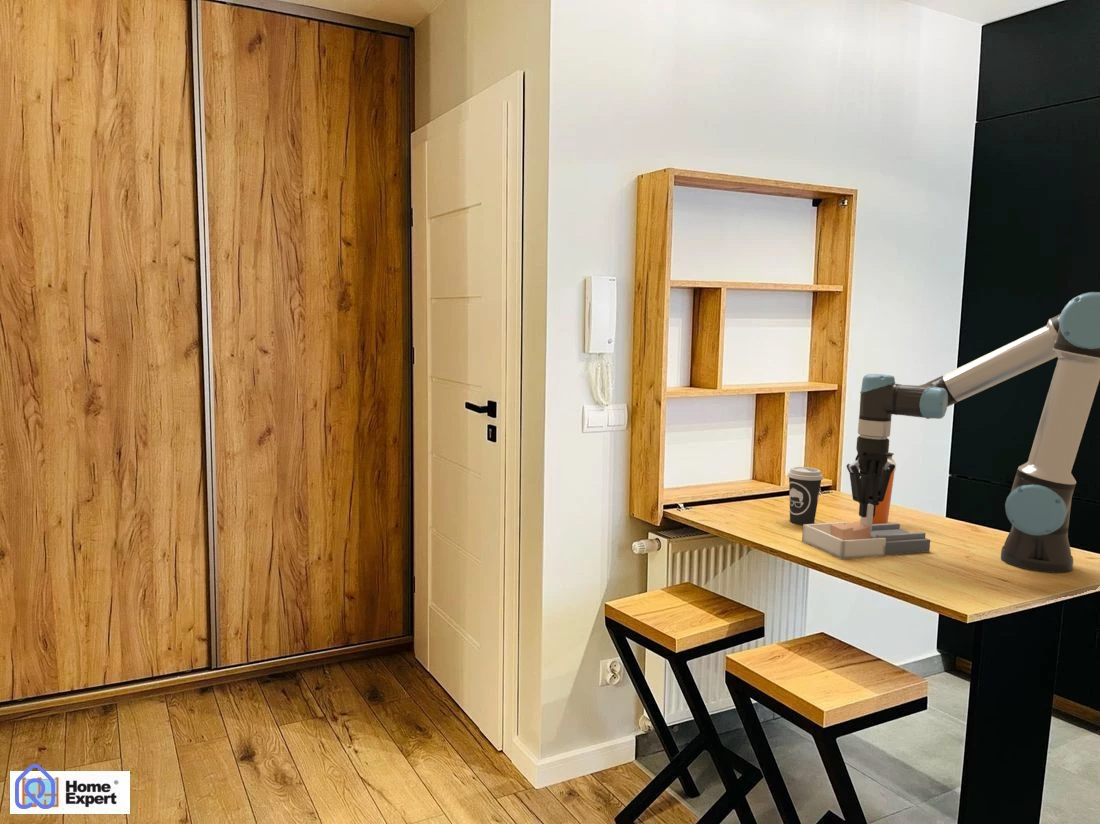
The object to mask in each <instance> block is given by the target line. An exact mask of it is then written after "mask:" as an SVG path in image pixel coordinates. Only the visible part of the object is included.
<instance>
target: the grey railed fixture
mask: <svg viewBox="0 0 1100 824" xmlns="http://www.w3.org/2000/svg"><path fill="white" fill-rule="evenodd" d="M900 527H901V524H900V523H898V522H890V523H889V522H888V523H886V524H872V531H870V534H871V539H872V538H886V545H885V556H887V555H889V556H890V555H899V554H901V555H902V554H915V553H927V552H928V553H930V548H931V539H929V538H926V534H927V533H926V532H924V531H919V532H918V531H916V532H910V531H907V530H905V529H902V528H900Z"/></svg>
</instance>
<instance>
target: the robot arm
mask: <svg viewBox="0 0 1100 824" xmlns="http://www.w3.org/2000/svg"><path fill="white" fill-rule="evenodd" d="M1055 358H1057V361H1056V366H1055V368H1054V372H1053V375H1052V379H1051V382H1050V386H1049V389H1048V392H1047V395H1046V398H1045V402H1044V405H1043V409H1042V412H1041V415H1040V419H1039V423H1038V426H1037V429H1036V432H1035V436H1034V439H1033V443H1032V447H1031V450H1030V453H1029V456H1028V460H1027V461H1026V462H1024V463H1023V464H1021V465H1019V466H1018V468H1017V469H1016V474H1015V477H1014V480H1013V483H1012V487H1011V490H1010V492H1009V494H1008V496H1007V497H1006V500H1005V502H1004V508H1005V515H1006V517H1007V519H1008V520H1009V522H1010V524H1011V528H1010V531H1009V533H1008V535H1007V537H1006V539H1005V541H1004V545H1002V547H1001V549H1000V559H1001V561H1003V562H1004V563H1006V564H1009V565H1011V566H1015V567H1019V568H1021V569H1025V570H1026V569H1027V570H1031V571H1038V572H1045V573H1047V572H1048V573H1068V572H1071V571H1072V570H1073V568H1074V557H1073V555H1072V551H1071V545H1070V542H1069V541H1070V540H1069V537H1068V536H1069V525H1070V515H1071V507H1072V498H1073V495H1074V490H1075V487H1076V485H1077V481H1076V479H1075V477H1074V476H1073V473H1072V470H1073V466H1074V464H1075V461H1076V458H1077V454H1078V451H1079V447H1080V444H1081V441H1082V438H1083V434H1084V431H1085V428H1086V424H1087V421H1088V418H1089V416H1090V412H1091V408H1092V405H1093V403H1094V398H1095V395H1096V392H1097V390H1098V386H1099V382H1100V291H1099V292H1098V291H1090V292H1085V293H1081V294H1080V295H1077V296H1075V297H1073V298H1072V299H1071V300H1069V301H1068V302H1067V303H1066V304H1065V305H1064V308H1063V309H1062V310H1061V313H1059V314H1057V315H1055V316H1054V317H1051V318H1049V319H1048V321H1047V324H1046V325H1044V326H1042V327H1040V328H1038V329H1036V330H1033V331H1032V332H1029V333H1028V334H1025V335H1024V336H1022V337H1020V338H1018V339H1016V340H1013V341H1011V342H1009V343H1007V344H1005V345H1003V346H1001V347H999V348H996V349H995V350H993V351H990V352H989V353H985V354H984V355H982V356H980V357H978V358H975V359H974V360H971V361H970V362H968V363H966V364H963V365H961V366H959V367H957V368H956V369H954V370H951V371H949V372H946V373H945V374H942V375H941V376H938V377H936V378H935V379H933V380H930V381H928V382H926V383H924V384H919V385H913V384H912V385H911V384H899V383H896V380H895V376H893V375H890V374H881V373H880V374H879V373H867V374H865V375H864V376H863V377H862V381H861V389H860V392H859V393H860V397H859V398H860V400H859V415H858V425H857V434H858V436H857V438H856V451H857V455H856V456H855V459H854V460H855V461H853V462H852V463H847V464H846V469H847V471H848V473H849V479H850V487H851V495H852V500H853V501H855V502H857V503H858V504H859V508H858V509H859V510H858V516H859V517H860V522H859V523H860V524H863V525H866V526H868V527H870V531H872V521H873V517H874V516H875V509H876V505H879V503H878V502H882V501H883V500H884V497H885V493H886V490H887V486H888V483H889V479H890V476H891V473H892V472H893V470H894V468H895V465H894V464H891V463H889V462H888V461H887V460H888V459H887V455H886V454H887V453H888V452H889V451H890V439H889V437H890V436H891V428H892V415H894V416H904V417H905V416H906V417H912V418H913V417H914V418H923V419H927V420H929V419H938V420H939V419H943V418H944V417H945V416H946V413H947V409H948V407H950V406H952V405H954V404H957V403H958V402H960V401H963V400H965V399H967V398H969V397H972V396H974V395H976V394H979V393H981V392H983V391H985V390H987V389H989V388H992V387H994V386H996V385H998V384H1000V383H1003V382H1005V381H1007V380H1009V379H1011V378H1013V377H1016V376H1018V375H1019V374H1023V373H1025V372H1026V371H1029V370H1031V369H1034V368H1036V367H1038V366H1040V365H1042V364H1044V363H1046V362H1049V361H1051V360H1053V359H1055Z"/></svg>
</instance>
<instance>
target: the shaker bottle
mask: <svg viewBox="0 0 1100 824" xmlns="http://www.w3.org/2000/svg"><path fill="white" fill-rule="evenodd" d="M886 455H887V459H888V460H887V461H888V462H889V463H891V464H894V465H895V468H894V470H893V472H892V473H891V476H890V479H889V483H888V486H887V490H886V493H885V497H884V500H883V501H882V502H878V503H879V505H876V509H875V516H874V517H873V521H872V524H886V523H889V516H890V508H891V499H892V492H893V486H894V485H893V484H894V478H895V477H894V476H895V471H897V469H896V467H897V463H896V461H895V460H894V459H893V456H894V455H895V453H893V452H889V451H888V453H887V454H886Z"/></svg>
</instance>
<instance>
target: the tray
mask: <svg viewBox="0 0 1100 824" xmlns="http://www.w3.org/2000/svg"><path fill="white" fill-rule="evenodd" d="M836 523H843V524H845V525H846V524H847V522H845V521H839V522H823V523H821V522H820V523H814V524H803V525H802V536H801V542H803V543H804V544H807V545H809V546H812V547H813V548H815V549H818V550H821V551H822V552H825V553H827V554H828V555H831V556H833V557H836V558H838V559H840V560H851V559H865V558H878V557H879V558H880V557H885V556H886V555H885V545H886V538H872V539H857V540H842V539H839V538H837V537H834V536H832V535H831V533H830V525H831V524H836Z"/></svg>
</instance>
